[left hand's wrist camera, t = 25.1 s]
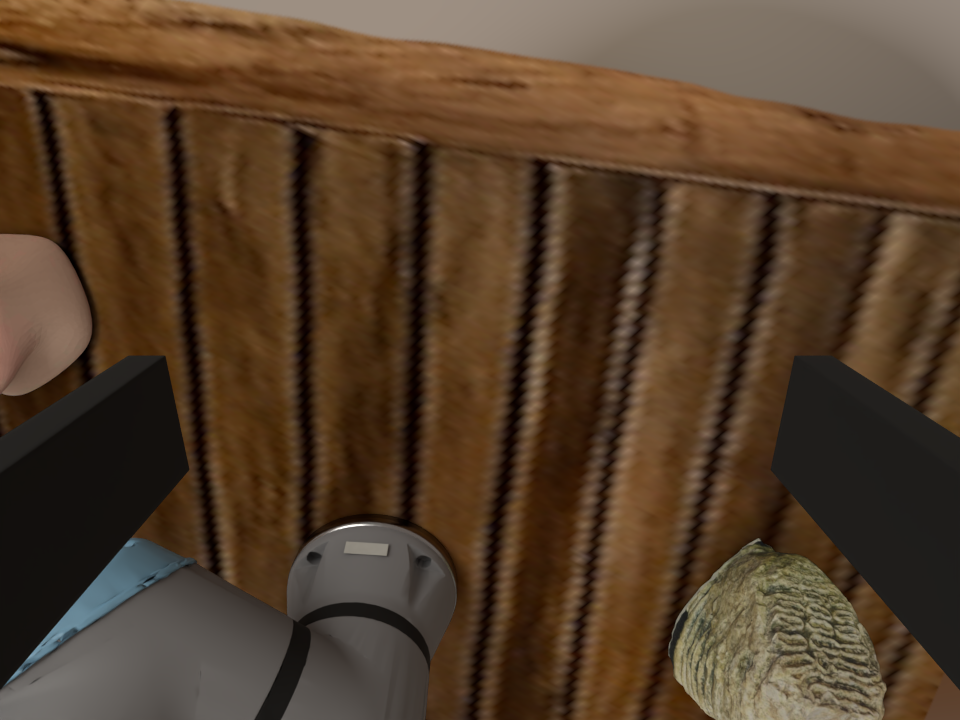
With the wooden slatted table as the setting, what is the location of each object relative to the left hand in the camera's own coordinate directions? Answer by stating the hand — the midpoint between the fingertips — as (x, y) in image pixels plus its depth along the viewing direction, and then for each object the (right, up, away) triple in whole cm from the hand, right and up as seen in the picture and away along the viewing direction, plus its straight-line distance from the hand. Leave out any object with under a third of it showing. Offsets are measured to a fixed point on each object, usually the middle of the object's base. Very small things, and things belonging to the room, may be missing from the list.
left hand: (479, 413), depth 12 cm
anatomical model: (-36, +5, +33) cm, 49 cm away
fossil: (+24, -22, +43) cm, 53 cm away
